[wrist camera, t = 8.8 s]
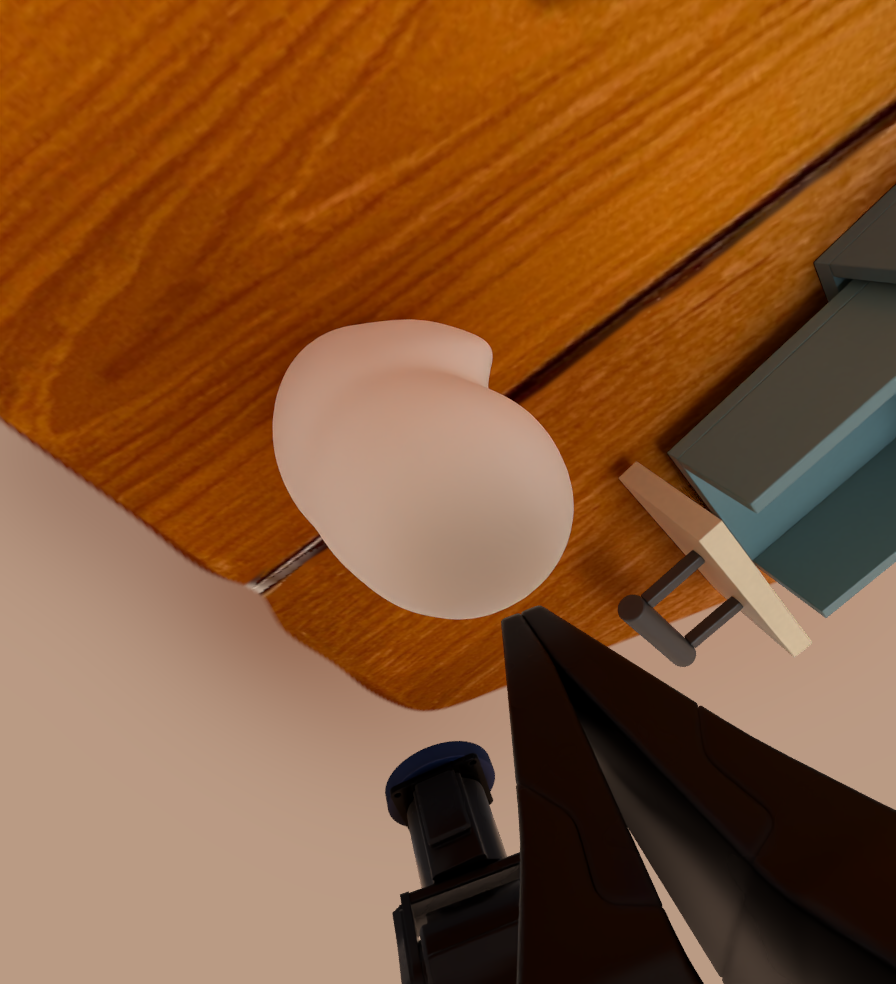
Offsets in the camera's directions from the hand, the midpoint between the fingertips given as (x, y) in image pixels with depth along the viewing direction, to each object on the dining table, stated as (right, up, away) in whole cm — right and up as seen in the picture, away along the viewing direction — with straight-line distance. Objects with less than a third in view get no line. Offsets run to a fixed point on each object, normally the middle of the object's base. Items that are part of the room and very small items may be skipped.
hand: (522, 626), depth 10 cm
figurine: (-5, +6, +11) cm, 14 cm away
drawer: (+15, +4, +18) cm, 23 cm away
